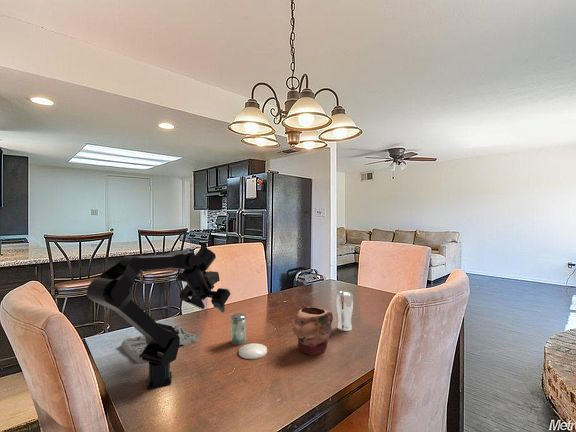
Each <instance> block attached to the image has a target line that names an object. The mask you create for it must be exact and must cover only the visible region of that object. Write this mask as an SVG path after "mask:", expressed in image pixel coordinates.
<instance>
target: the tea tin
mask: <svg viewBox="0 0 576 432" xmlns="http://www.w3.org/2000/svg"><path fill="white" fill-rule="evenodd" d="M246 320H247V314H246V313H240V312H238V313H233V314H232V315H231V316H230V324H231V325H230V326H231V328H230V333H231V334H230V338H231V340H230V343H231V345H233V346H243V345H245V344H246V342H247V335H246V334H247V321H246Z"/></svg>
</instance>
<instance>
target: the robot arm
mask: <svg viewBox="0 0 576 432" xmlns="http://www.w3.org/2000/svg"><path fill="white" fill-rule="evenodd" d="M216 257H217V256H216V253H215V252H213V251H212V250H211V249H209V248H208V246H201V247H200V248H199V250H198V251H197V253H196V254H195V252H193V251H189V250H188V251H187V250H175V251H174V250H173V251H171V252H169V253H167V254H158V255H156V254H155V255H154V254H153V255H137V256H136V255H135V256H133V255H125V256H123V257H121V258H119V260H118V261H117V262H116V263H114V265H112V266H111V267H108V268H107V269H106V270H103V272H102V273H101V274H100V275H98V277H97V278H95V279H93V280H91V282H90V283H89V284H88V286H87V290H86V296H87V298H88V299H89V300H91V301H93V302H95V303H97V304H99V305H100V306H103V307H106V308H107V309H111V310H112V311H114V312H115V313H117V314H118V315H119V316H120V317H121V318H123V319H124V320H125V322H127V323H128V324H129V325H131V326H132V327H133V328H134V329H135V330H136V331H138V332H139V333H140V334H141V336H145V338H146V343H147V346H146V347H145V349H144V350H143V352H142V354H141V355H140V357H142V360H144V361H146V362H147V363H148V376H147V381H146V387H145V389H147V390H149V389H153V388H159V387H160V388H161V387H163V386H164V387H165V386H169V385H171V384H172V371H171V363H172V362H174V361H176V360H177V356H178V353H179V349H180V348H179V347H180V346H181V345H180V341H179V340H180V337H179V335H178V334H179V332H176V331H175V329H174V327H173V325H169V324H166V323H165V324H164V323H159V322H157V321H156V320H154V319H153V318H152V317H151V316H150V315H149V314H148V313H147V312H146V311H145V310H144V309H142V307H141V306H140V305H138V304H137V303H136V302H135V301H134V300H133V299H132V293H131V292H132V291H130V289H131V287H132V286H133V285H134V283H135V280H136V278H137V276H138V273H140V272H141V271H151V270H159V269H169V268H170V269H171V268H172V269H178V270H179V269H180V270H182V271H181V272H178V276H177V278H176V281H179V282H183V283H184V282H185V283H186V285H185V287H184V288H183V289H182V291H180V293H179V298H180V300H181V301H182V302H185V303H187V304H189V305H193V306H195V307H197V308H200V309H201V310H204V309H205V308H206V306H205V304H204V301H205V300H206V298H210V299H211V300H210V302H211V304H212V305H213V306H212V307H213V308H215V309H217V310H218V311H219V312H220V313H224V312H225V310H226V308H225V306H226V305H225V304H226V303H227V301H228V300H229V298H230V296H231V291H230V290H229V289H228V288H223V287H222V288H221V287H219V288H217V290H216V291H215V290H213V289H214V288H215V284H217V283H218V282H220V279H221V278H220V275H219V272H218V271H212V270H209V271H208V269H209V267H210V266H211V265H212V264H213V262H214V261H215V260H216ZM118 278H119V279H118ZM203 300H204V301H203ZM179 345H180V346H179ZM159 352H160V353H159Z"/></svg>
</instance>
